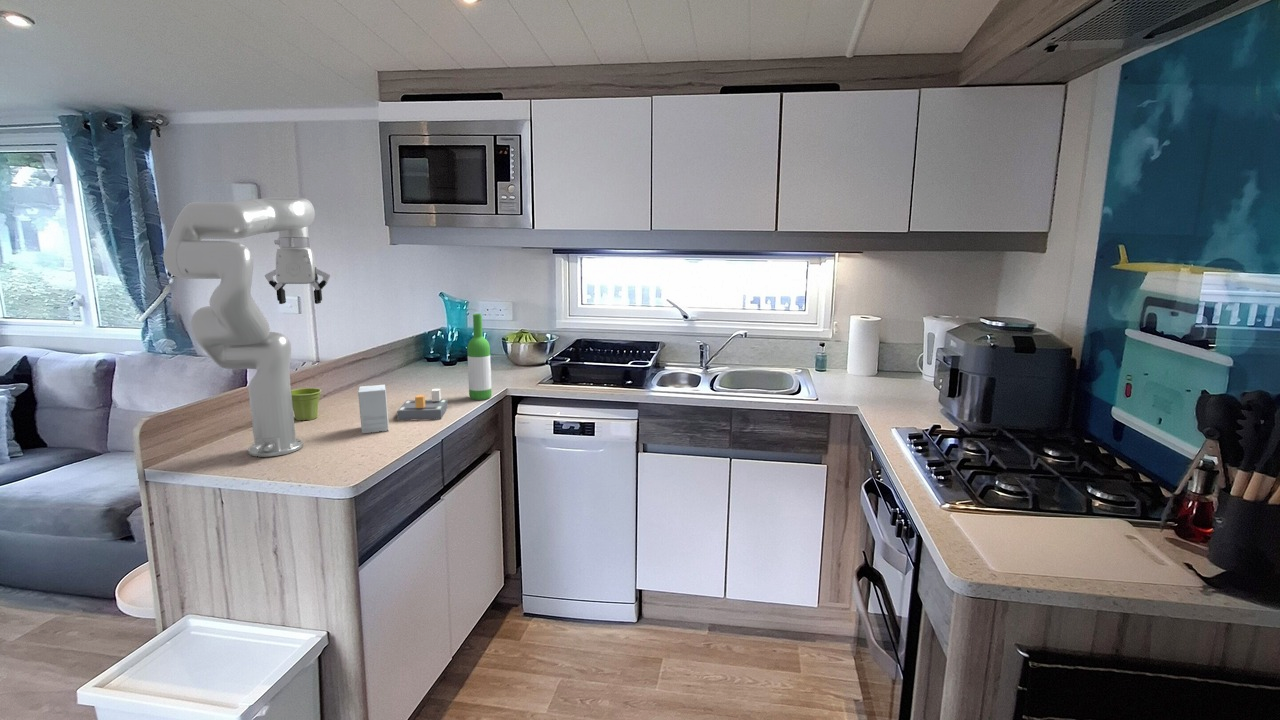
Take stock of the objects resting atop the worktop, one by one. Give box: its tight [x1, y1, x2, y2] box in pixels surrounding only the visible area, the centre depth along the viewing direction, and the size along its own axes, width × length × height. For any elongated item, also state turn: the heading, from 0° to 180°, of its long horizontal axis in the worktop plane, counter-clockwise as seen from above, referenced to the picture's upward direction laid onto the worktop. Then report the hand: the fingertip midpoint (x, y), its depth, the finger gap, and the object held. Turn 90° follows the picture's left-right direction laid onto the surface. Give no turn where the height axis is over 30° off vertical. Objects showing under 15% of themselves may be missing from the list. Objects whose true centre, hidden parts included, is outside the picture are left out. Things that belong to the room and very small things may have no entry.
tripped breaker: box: [414, 394, 426, 408], centre depth 195 cm, size 3×2×4 cm
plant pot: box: [291, 387, 322, 421], centre depth 193 cm, size 9×9×9 cm
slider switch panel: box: [396, 398, 449, 421], centre depth 200 cm, size 13×13×3 cm
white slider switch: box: [431, 388, 442, 401], centre depth 204 cm, size 3×2×4 cm
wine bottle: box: [466, 313, 492, 401], centre depth 218 cm, size 8×8×30 cm
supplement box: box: [357, 384, 389, 434], centre depth 183 cm, size 7×7×13 cm
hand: (300, 303), depth 182 cm, fingers open, 9 cm apart
